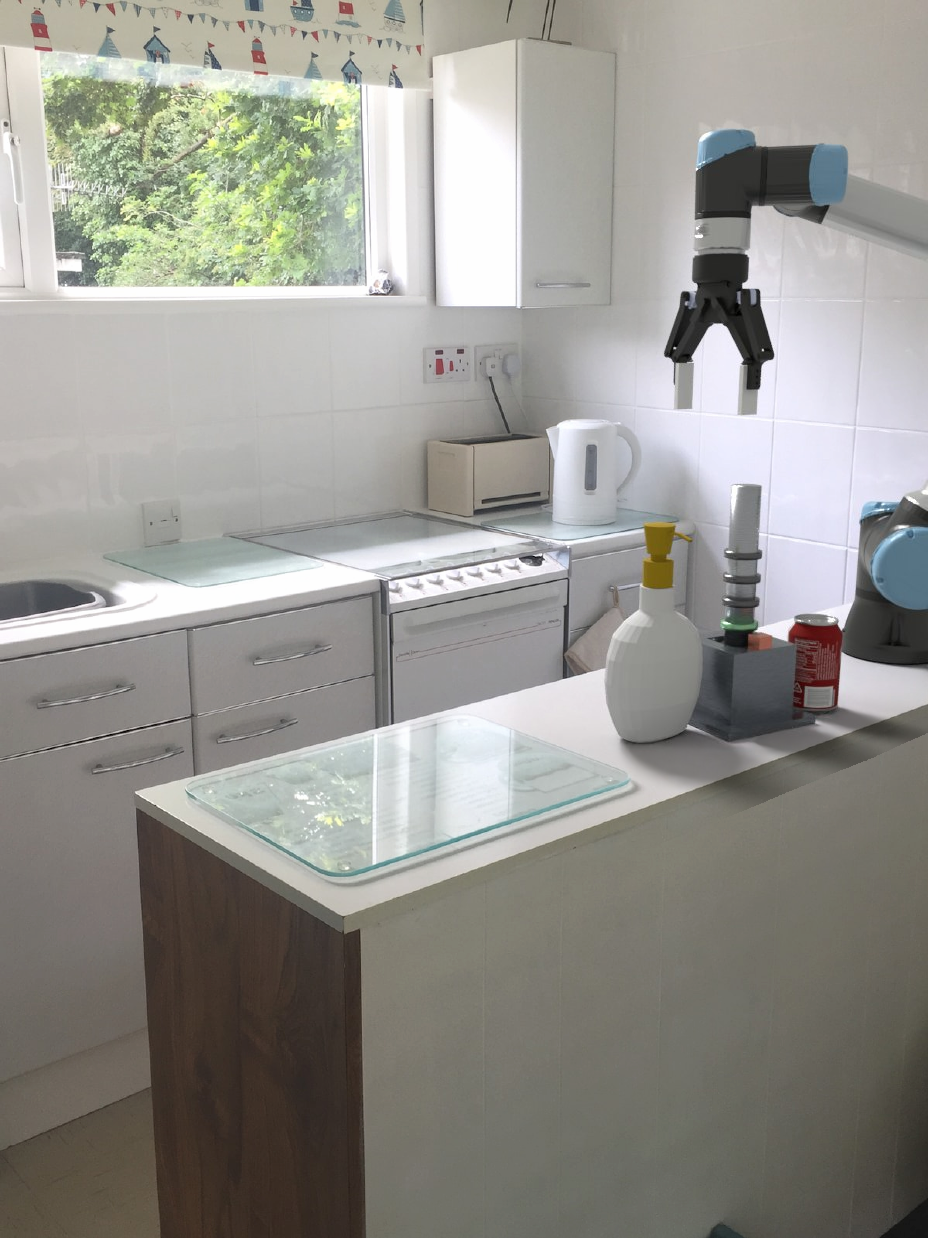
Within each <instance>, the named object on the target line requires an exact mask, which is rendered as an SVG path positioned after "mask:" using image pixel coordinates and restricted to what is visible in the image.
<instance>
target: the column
mask: <svg viewBox="0 0 928 1238" xmlns="http://www.w3.org/2000/svg"><path fill="white" fill-rule="evenodd" d="M730 485H731V486H730V487H731V489H730V491H731V492H730V509H729V524H728V525H729V529H728V530H729V531H728V546H727V548H724V549H723V557H724V558H725V559H727V569H726V571H725V572H723V573H722V582H725V583H726V587H725V588H726V591H725V594H724V595H722V596H721V605H722V606H724V609H725V610H724V611H725V612H724V618H722V619H720V627H719V628H721V630H724V640H723V641H721V642H720V643H722V644H725V645H728V646H731V647H734V648H741V647H747V646H748V638H749V634H752V633H754V631H755V632H757V630H759V621H758V620H756V619H755V617H756V616H755V615H756V608H758V607H760V603H761V602H760V600H761V599H760V597H758V596H757V595H756V594H757V584H760V583H761V581H762V574H760V573H759V572H758V562H759V560H761V559H762V558H763V550H761V549H759V544H760V543H759V542H760V523H761V507H762V489H763V488H762V487H763V486H762V485H761V484H755V483H737V484H736V483H733V484H730Z"/></svg>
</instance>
